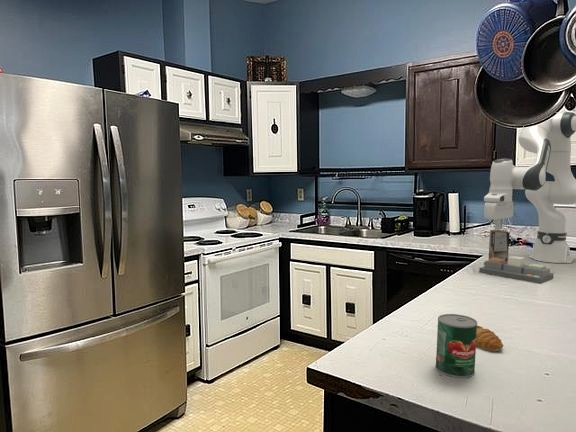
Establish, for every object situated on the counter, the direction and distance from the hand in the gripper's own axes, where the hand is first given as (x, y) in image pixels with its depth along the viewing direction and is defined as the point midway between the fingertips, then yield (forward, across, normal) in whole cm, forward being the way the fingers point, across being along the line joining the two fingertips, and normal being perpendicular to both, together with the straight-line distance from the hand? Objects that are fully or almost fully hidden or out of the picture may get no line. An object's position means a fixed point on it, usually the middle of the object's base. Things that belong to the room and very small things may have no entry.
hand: (498, 229), depth 184 cm
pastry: (+19, +83, +34) cm, 92 cm away
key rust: (+17, 0, 0) cm, 17 cm away
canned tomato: (+18, +102, +37) cm, 110 cm away
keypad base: (+19, 0, +8) cm, 20 cm away
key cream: (+15, 0, +8) cm, 17 cm away
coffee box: (+19, -15, -6) cm, 25 cm away
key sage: (+17, 0, +16) cm, 23 cm away
